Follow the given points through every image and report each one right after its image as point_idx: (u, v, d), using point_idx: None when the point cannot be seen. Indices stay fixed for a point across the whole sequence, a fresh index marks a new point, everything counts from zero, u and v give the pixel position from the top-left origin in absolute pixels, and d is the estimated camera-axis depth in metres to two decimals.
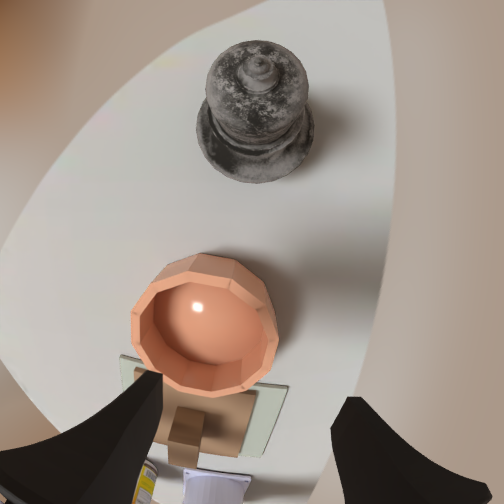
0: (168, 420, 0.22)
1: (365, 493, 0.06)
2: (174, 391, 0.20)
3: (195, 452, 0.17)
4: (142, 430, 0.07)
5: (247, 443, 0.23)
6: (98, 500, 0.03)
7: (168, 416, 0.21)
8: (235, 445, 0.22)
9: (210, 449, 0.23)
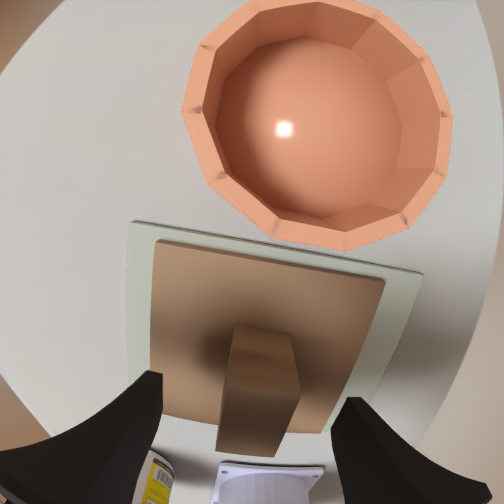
0: (210, 363, 0.13)
1: (365, 493, 0.06)
2: (235, 285, 0.12)
3: (288, 410, 0.09)
4: (142, 430, 0.07)
5: (341, 404, 0.14)
6: (98, 500, 0.03)
7: (212, 353, 0.12)
8: (325, 407, 0.13)
9: None
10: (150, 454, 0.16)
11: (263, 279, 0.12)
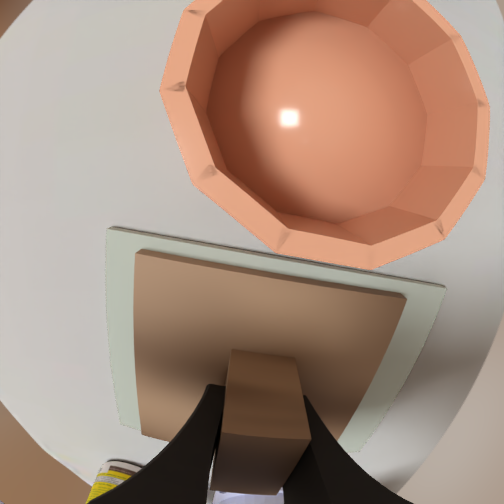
0: (203, 390, 0.11)
1: (297, 500, 0.06)
2: (231, 304, 0.10)
3: (294, 455, 0.07)
4: (214, 446, 0.07)
5: (349, 427, 0.12)
6: None
7: (205, 379, 0.10)
8: (333, 433, 0.11)
9: None
10: None
11: (265, 297, 0.09)
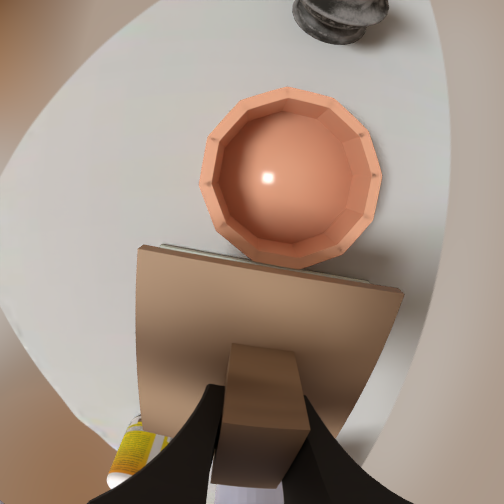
0: (204, 384, 0.11)
1: (297, 500, 0.06)
2: (232, 298, 0.10)
3: (293, 447, 0.07)
4: (214, 446, 0.07)
5: None
6: None
7: (206, 373, 0.11)
8: (332, 428, 0.12)
9: None
10: None
11: (265, 292, 0.10)
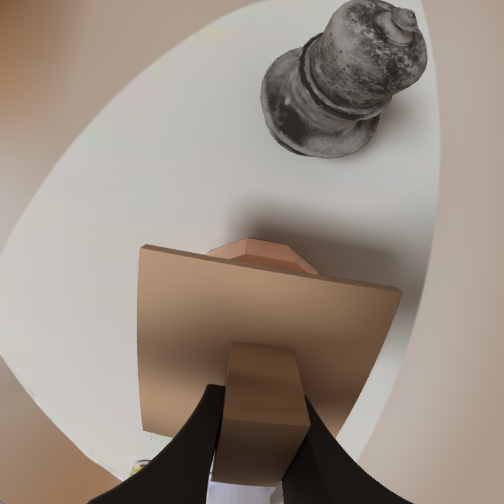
0: (204, 383, 0.11)
1: (297, 500, 0.06)
2: (232, 297, 0.10)
3: (294, 443, 0.07)
4: (214, 446, 0.07)
5: None
6: None
7: (206, 372, 0.11)
8: (332, 427, 0.12)
9: None
10: None
11: (265, 290, 0.10)
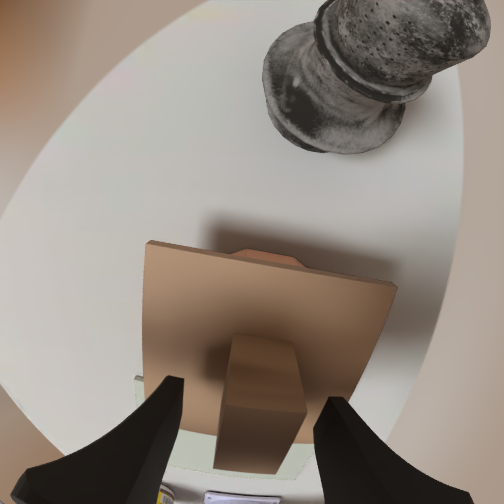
0: (207, 374, 0.12)
1: (343, 496, 0.06)
2: (234, 291, 0.10)
3: (292, 430, 0.07)
4: (167, 436, 0.07)
5: (283, 467, 0.19)
6: None
7: (209, 363, 0.11)
8: None
9: None
10: None
11: (265, 284, 0.10)
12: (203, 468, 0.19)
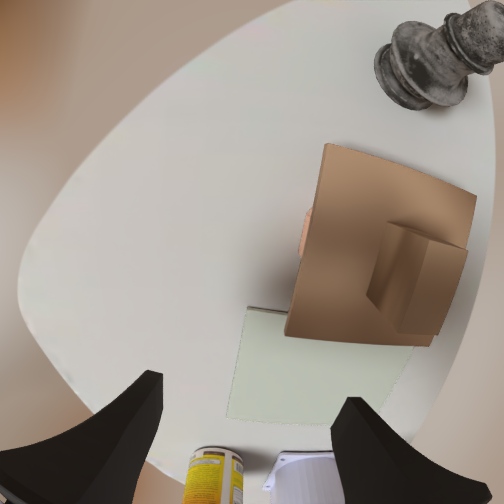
0: (360, 264, 0.14)
1: (365, 493, 0.06)
2: (389, 185, 0.13)
3: (459, 270, 0.10)
4: (142, 430, 0.07)
5: None
6: (98, 500, 0.03)
7: (364, 252, 0.13)
8: None
9: None
10: (229, 452, 0.22)
11: (408, 181, 0.12)
12: (290, 418, 0.21)
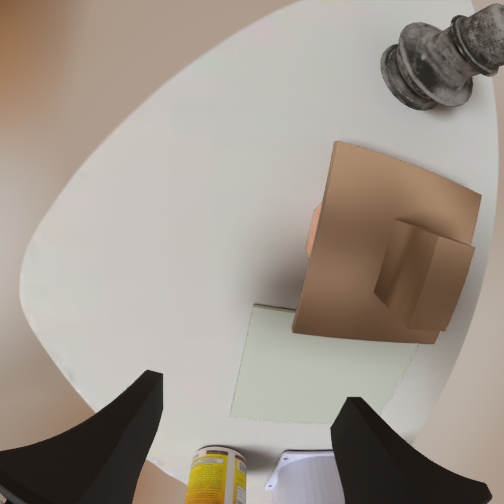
0: (368, 261, 0.14)
1: (365, 493, 0.06)
2: (397, 183, 0.13)
3: (466, 266, 0.10)
4: (142, 430, 0.07)
5: (370, 404, 0.21)
6: (98, 500, 0.03)
7: (372, 249, 0.13)
8: None
9: (409, 329, 0.15)
10: (232, 451, 0.22)
11: (415, 180, 0.12)
12: (294, 416, 0.21)
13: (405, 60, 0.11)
